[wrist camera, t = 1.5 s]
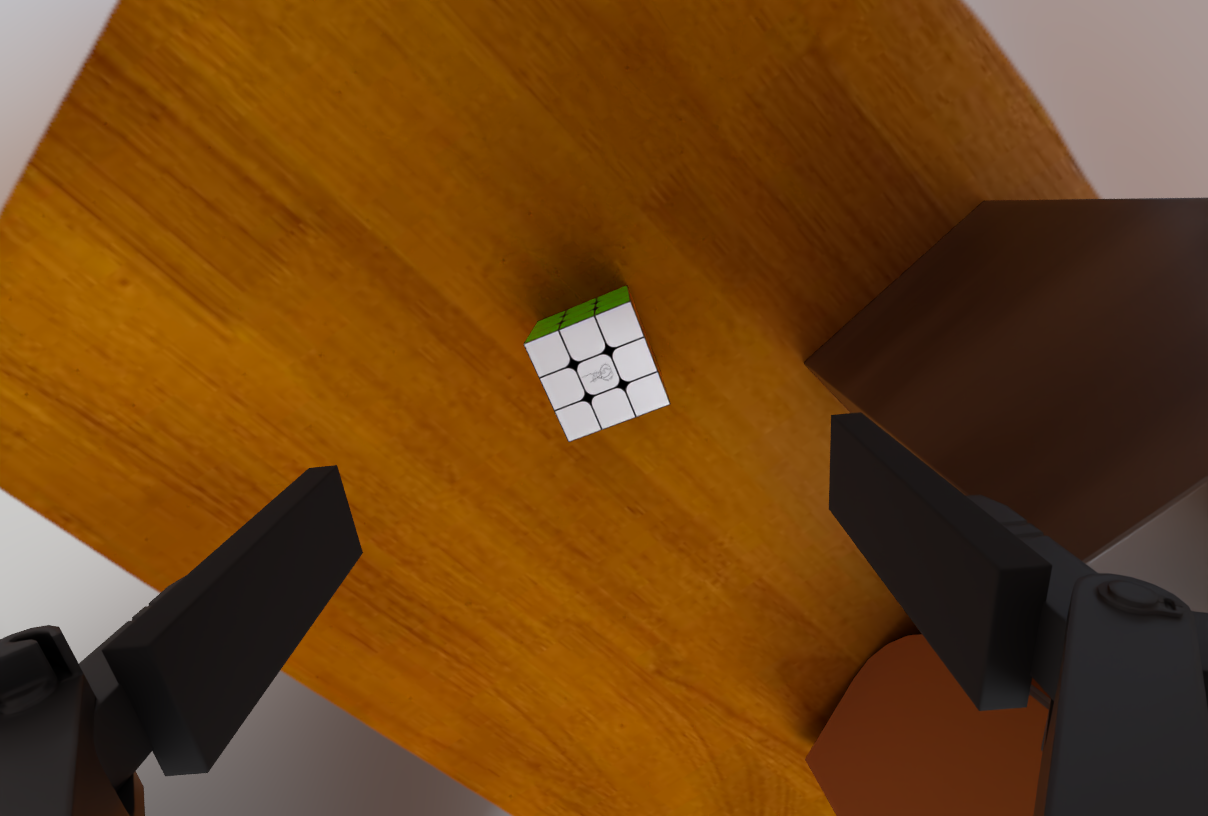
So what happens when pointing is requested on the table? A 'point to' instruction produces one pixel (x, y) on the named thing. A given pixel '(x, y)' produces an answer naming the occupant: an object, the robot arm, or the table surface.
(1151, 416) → the walnut step
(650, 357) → the rubik's cube
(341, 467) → the table surface
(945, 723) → the alarm clock
